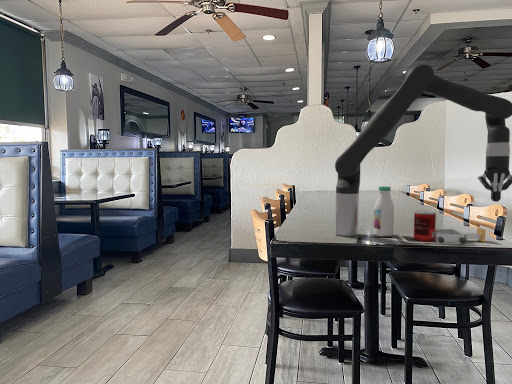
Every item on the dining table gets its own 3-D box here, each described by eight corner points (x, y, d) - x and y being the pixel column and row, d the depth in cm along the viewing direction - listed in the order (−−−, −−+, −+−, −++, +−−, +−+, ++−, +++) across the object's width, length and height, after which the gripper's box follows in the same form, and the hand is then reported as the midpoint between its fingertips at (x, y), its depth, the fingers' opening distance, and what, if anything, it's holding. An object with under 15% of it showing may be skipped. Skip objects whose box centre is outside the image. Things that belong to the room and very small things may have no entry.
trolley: (437, 242, 143) (437, 230, 143) (425, 235, 158) (425, 224, 158) (491, 244, 141) (491, 232, 140) (474, 236, 156) (474, 225, 155)
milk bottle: (393, 233, 163) (394, 186, 161) (393, 237, 156) (394, 187, 154) (374, 232, 165) (375, 185, 164) (373, 236, 158) (374, 187, 157)
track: (406, 242, 145) (406, 242, 145) (397, 235, 160) (397, 234, 160) (489, 245, 141) (489, 244, 141) (472, 237, 156) (472, 236, 156)
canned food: (430, 237, 155) (431, 210, 154) (438, 241, 147) (439, 213, 146) (410, 237, 156) (411, 210, 155) (417, 241, 148) (418, 212, 147)
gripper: (482, 155, 142) (481, 202, 143) (522, 154, 140) (520, 202, 142) (474, 155, 150) (472, 200, 151) (511, 155, 148) (509, 200, 149)
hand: (495, 201), depth 146 cm, fingers closed
